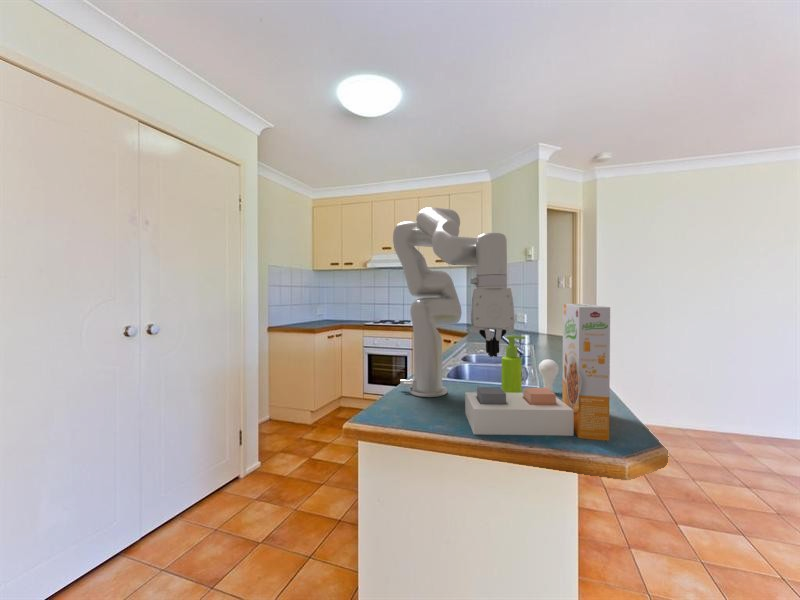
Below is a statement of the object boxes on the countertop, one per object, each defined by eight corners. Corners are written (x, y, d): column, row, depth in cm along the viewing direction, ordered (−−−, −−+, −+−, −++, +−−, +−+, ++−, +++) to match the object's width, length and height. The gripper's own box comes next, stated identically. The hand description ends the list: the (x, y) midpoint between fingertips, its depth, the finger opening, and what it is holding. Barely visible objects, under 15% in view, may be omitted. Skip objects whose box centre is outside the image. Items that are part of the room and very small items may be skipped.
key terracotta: (530, 410, 87) (530, 394, 87) (523, 402, 93) (523, 387, 93) (555, 410, 87) (555, 394, 87) (546, 402, 93) (546, 387, 93)
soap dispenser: (526, 403, 106) (526, 337, 106) (502, 402, 108) (502, 336, 107) (523, 398, 112) (523, 334, 112) (500, 396, 114) (501, 334, 113)
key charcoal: (481, 409, 88) (481, 393, 87) (477, 402, 94) (477, 387, 93) (506, 410, 87) (506, 393, 87) (500, 402, 93) (500, 387, 93)
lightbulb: (550, 396, 114) (550, 361, 114) (534, 391, 120) (534, 358, 119) (562, 393, 117) (562, 360, 117) (546, 388, 123) (546, 357, 122)
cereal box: (562, 407, 103) (562, 303, 103) (586, 409, 101) (586, 303, 101) (578, 437, 82) (579, 307, 81) (609, 440, 80) (610, 307, 79)
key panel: (473, 434, 84) (473, 409, 84) (465, 414, 98) (465, 392, 98) (573, 435, 83) (573, 410, 83) (550, 414, 97) (550, 392, 97)
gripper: (463, 282, 86) (464, 358, 86) (526, 281, 86) (527, 358, 86) (459, 284, 94) (460, 353, 94) (517, 283, 93) (518, 353, 93)
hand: (492, 355), depth 90 cm, fingers closed
